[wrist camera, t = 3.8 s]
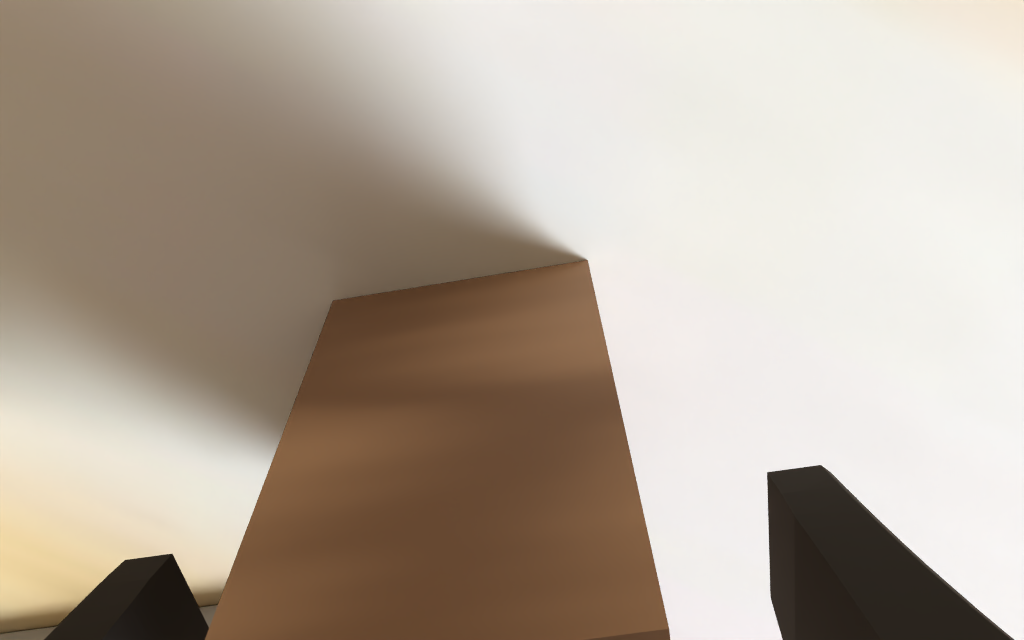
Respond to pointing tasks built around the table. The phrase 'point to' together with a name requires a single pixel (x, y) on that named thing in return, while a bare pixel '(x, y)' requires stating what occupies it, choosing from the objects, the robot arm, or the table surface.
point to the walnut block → (452, 477)
